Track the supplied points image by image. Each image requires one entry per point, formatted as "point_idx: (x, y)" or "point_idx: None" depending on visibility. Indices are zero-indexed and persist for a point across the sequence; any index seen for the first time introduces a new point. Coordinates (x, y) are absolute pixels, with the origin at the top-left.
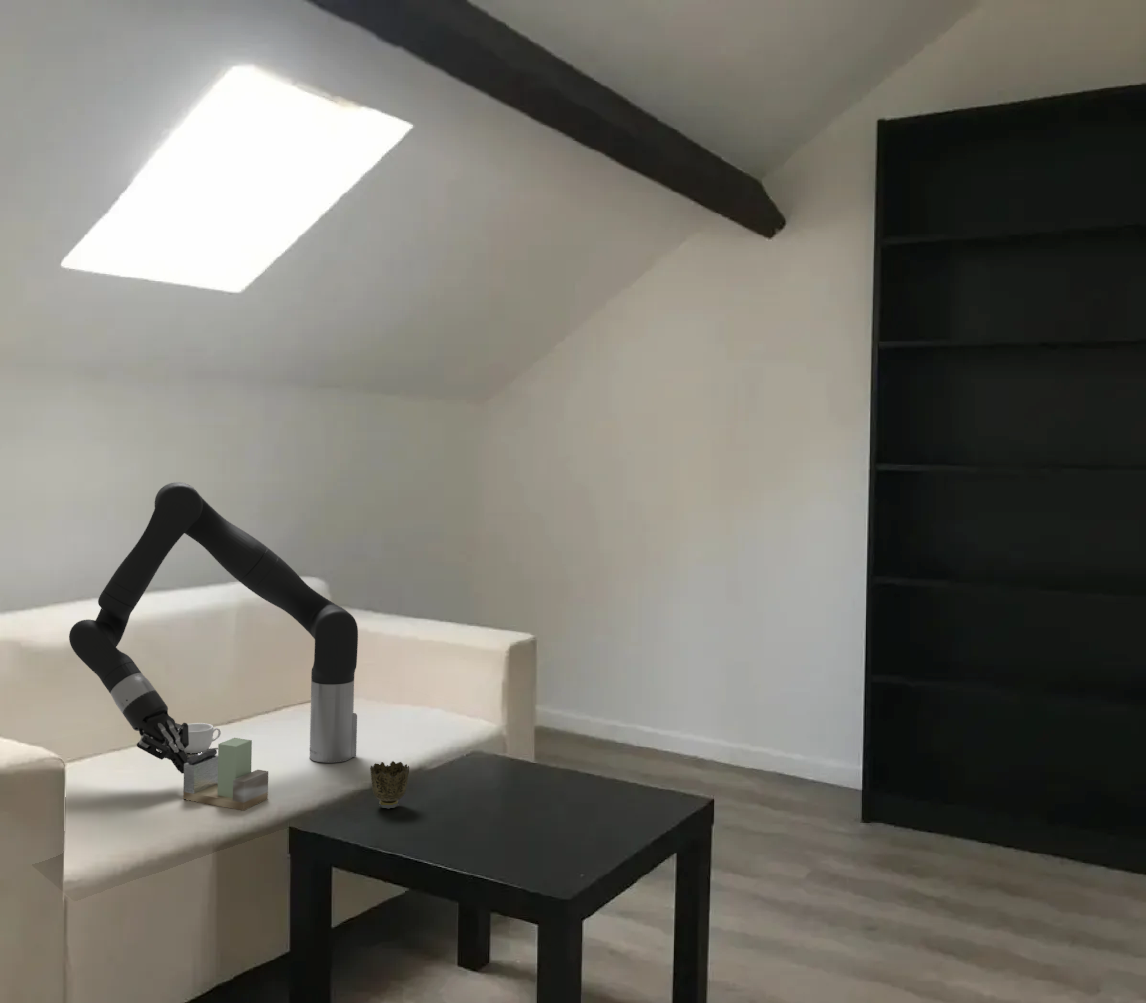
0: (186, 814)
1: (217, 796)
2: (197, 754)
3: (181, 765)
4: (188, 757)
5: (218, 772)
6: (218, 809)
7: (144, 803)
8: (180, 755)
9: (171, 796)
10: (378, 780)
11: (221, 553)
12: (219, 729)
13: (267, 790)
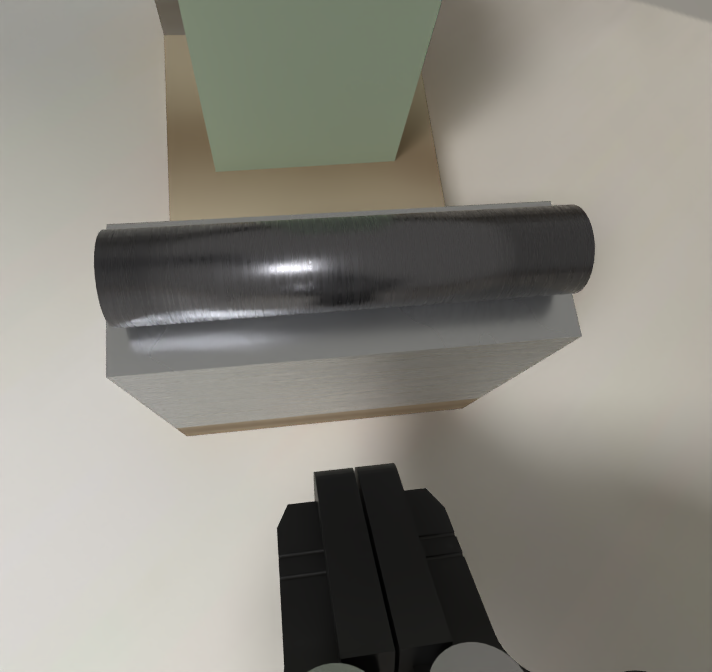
0: (620, 204)
1: (411, 146)
2: (456, 234)
3: (446, 514)
4: (281, 584)
5: (427, 35)
6: (457, 120)
7: (671, 572)
8: (430, 595)
9: (463, 534)
10: None
11: None
12: None
13: None
